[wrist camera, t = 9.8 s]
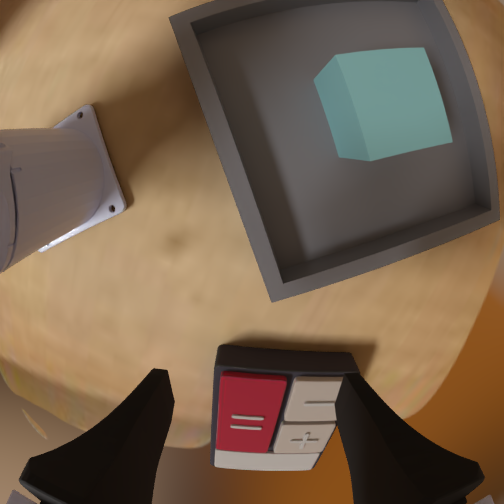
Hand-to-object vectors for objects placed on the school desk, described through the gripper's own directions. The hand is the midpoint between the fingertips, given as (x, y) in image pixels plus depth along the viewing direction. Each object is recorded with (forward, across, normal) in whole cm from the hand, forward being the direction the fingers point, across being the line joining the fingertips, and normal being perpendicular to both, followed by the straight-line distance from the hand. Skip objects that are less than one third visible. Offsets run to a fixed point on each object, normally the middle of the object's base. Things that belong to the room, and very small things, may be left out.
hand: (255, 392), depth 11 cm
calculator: (+10, -2, +13) cm, 17 cm away
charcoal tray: (+9, -6, -12) cm, 16 cm away
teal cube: (+9, -6, -12) cm, 16 cm away
